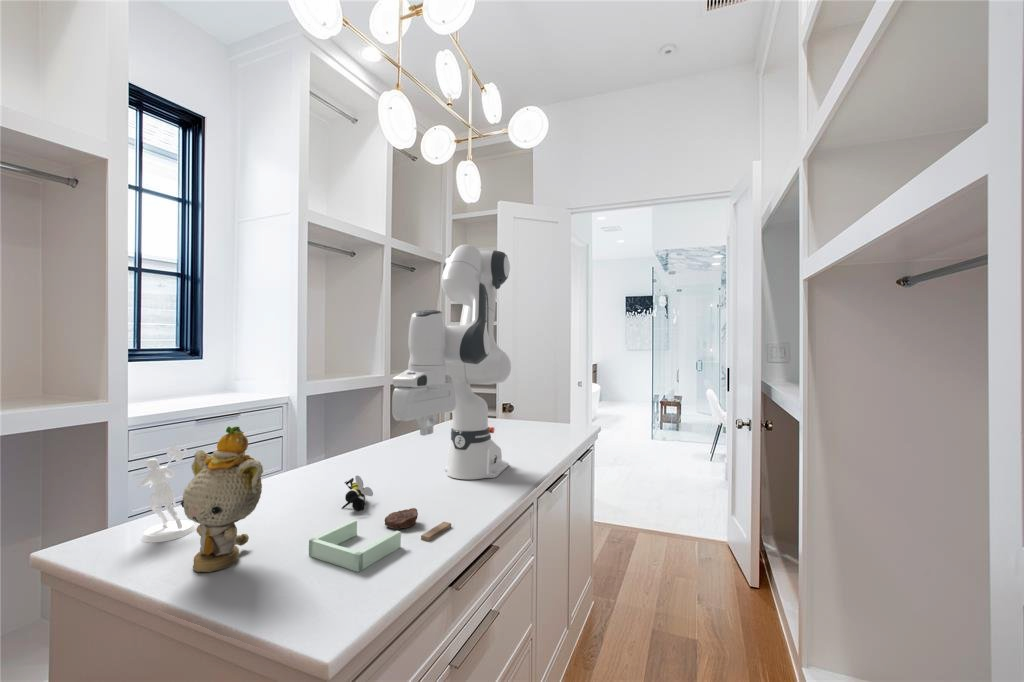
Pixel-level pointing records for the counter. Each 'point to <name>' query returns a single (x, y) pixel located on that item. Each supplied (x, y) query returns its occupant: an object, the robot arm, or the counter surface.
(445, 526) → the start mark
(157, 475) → the figurine
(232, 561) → the figurine
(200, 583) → the counter surface
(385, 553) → the green u-shaped bracket
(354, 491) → the toy
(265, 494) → the counter surface
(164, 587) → the counter surface
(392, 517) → the stone
